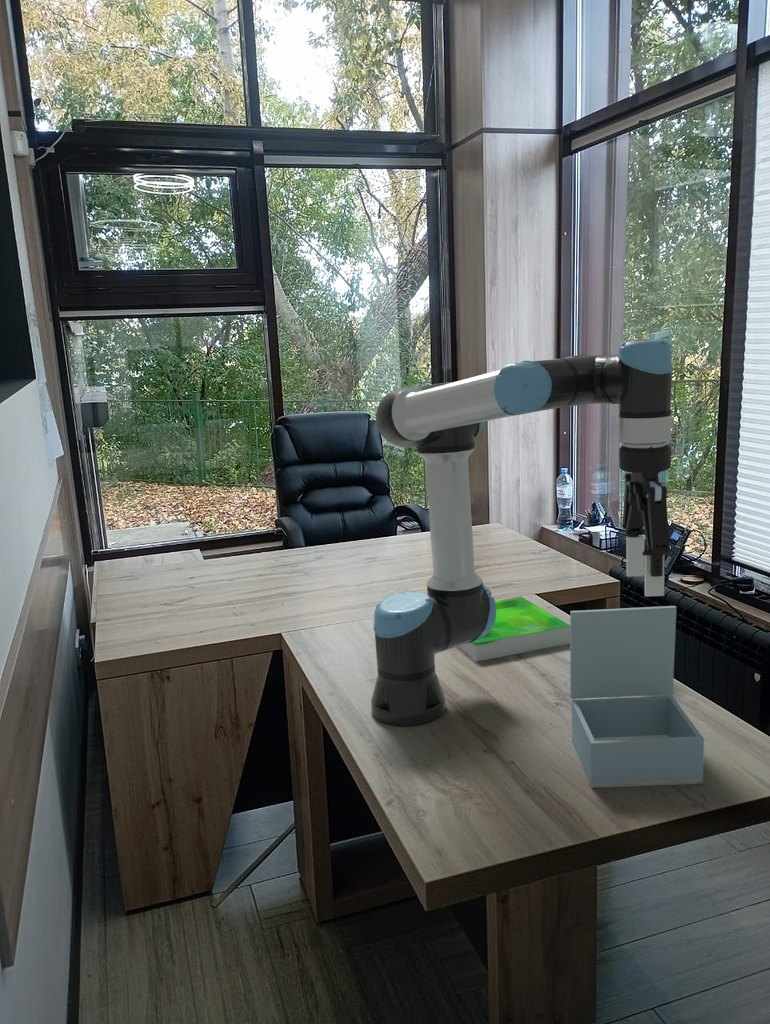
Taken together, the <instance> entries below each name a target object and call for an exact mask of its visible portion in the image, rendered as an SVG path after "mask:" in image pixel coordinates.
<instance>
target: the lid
mask: <svg viewBox="0 0 770 1024" xmlns="http://www.w3.org/2000/svg"><path fill="white" fill-rule="evenodd" d="M569 619H570V622H569V623H570V624H569V625H570V648H569V649H570V657H569V658H570V661H569V663H570V664H569V665H570V667H569V669H570V670H569V673H570V674H569V675H570V676H569V677H570V678H569V679H570V680H569V681H570V682H569V683H570V684H569V687H570V689H569V691H570V692H569V694H570V695H569V697H570V699H571V700H579V699H600V698H622V697H644V696H666V695H673V692H674V671H675V652H676V650H675V649H676V646H675V645H676V628H677V626H676V625H677V606H676V605H667V606H665V605H663V606H645V607H628V608H627V607H626V608H624V607H623V608H607V609H606V608H603V609H586V610H585V609H584V610H570V618H569Z"/></svg>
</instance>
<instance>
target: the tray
mask: <svg viewBox="0 0 770 1024" xmlns="http://www.w3.org/2000/svg"><path fill="white" fill-rule="evenodd" d="M495 603H496V619H495V623H494V625H493V627H492V629H491V631H490V632H489V633H488V634H487V635H485V636H484V637H481V638H479V639H477V640H476V641H474V642H471V643H466V644H463V645H460V646H457V648H459V649H460V650H462V652H463V653H465V654H466V655H467V656H468V657H469V656H470V657H469V658H471V659H472V660H473V661H474V662H475V661H476V662H481V661H486V660H487V661H488V660H491V659H498V658H503V657H508V656H512V655H518V654H522V653H527V652H534V651H537V650H543V649H548V648H553V647H558V646H559V647H560V646H564V645H569V644H570V624H569V623H567V622H565V621H564V620H562V619H560V618H558V617H556V616H555V615H554V614H551V613H550V612H548V611H547V610H546V609H543V608H542V607H539V606H538V605H536V604H535V603H533V602H531V601H529V600H528V599H526V598H524V597H522V596H517V597H511V598H507V599H499V600H495Z"/></svg>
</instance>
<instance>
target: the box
mask: <svg viewBox="0 0 770 1024" xmlns="http://www.w3.org/2000/svg"><path fill="white" fill-rule="evenodd" d="M571 729H572V730H571V738H572V739H571V741H572V744H573V747H574V748H575V751H576V753H577V756H578V758H579V761H580V764H581V766H582V768H583V771H584V773H585V775H586V778H587V780H588V784H589V785H590V788H591V789H603V788H604V789H605V788H606V789H607V788H628V787H629V788H630V787H655V786H657V787H658V786H677V785H699V784H700V785H701V784H702V785H703V784H704V751H705V750H704V747H705V746H704V745H705V744H704V743H705V742H704V741H705V739H704V736H702V734H701V733H700V731H699V730H698V729H697V727H696V726H695V725H694V723H693V722H692V720H691V719H690V718H689V717H688V715H687V714H686V713H685V711H684V710H683V708H682V707H681V705H680V704H679V703H678V701H677V700H676V699H675V698H674V696H673V695H654V696H632V697H610V698H588V699H571Z"/></svg>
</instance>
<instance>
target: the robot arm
mask: <svg viewBox="0 0 770 1024" xmlns="http://www.w3.org/2000/svg"><path fill="white" fill-rule="evenodd" d="M672 359H673V357H672V345H671V344H670V342H669V341H667V340H665V339H651V340H647V339H646V340H632V341H623V342H621V343H620V344H619V346H618V354H614V355H610V354H609V355H604V354H603V355H602V354H601V355H599V354H597V355H596V354H595V355H588V354H579V355H573V356H568V357H567V356H566V357H563V358H554V359H545V360H521V361H517V362H514V363H509V364H508V363H507V365H505V366H503V367H502V368H501V369H499V370H494V371H489V372H486V373H483V374H480V375H475V376H472V377H468V378H464V379H461V380H457V381H452V382H441V383H433V384H425V385H417V386H408V387H407V386H405V387H400V388H397V389H394V390H392V391H390V392H389V393H387V394H386V395H385V396H383V398H382V399H380V402H379V403H378V405H377V407H376V411H375V423H376V427H377V429H378V430H377V431H378V432H379V433H380V435H381V437H383V438H384V440H386V441H387V442H388V443H389V444H391V445H394V446H397V447H401V448H416V452H417V455H419V456H420V457H421V458H422V459H423V460H424V462H425V471H426V472H425V476H426V488H427V503H428V513H429V514H428V517H429V527H430V528H429V529H430V530H429V531H430V542H431V544H430V545H431V558H432V573H433V574H432V575H431V577H430V578H429V579H428V580H427V581H426V591H427V593H426V592H422V591H407V592H403V591H402V592H398V593H395V594H391V595H390V596H387V597H385V598H384V599H382V600H381V601H380V602H378V604H376V606H375V610H374V612H373V613H374V615H373V619H374V620H373V631H374V639H375V653H376V667H377V678H376V681H375V684H374V689H373V692H372V696H371V701H370V704H371V714H372V713H373V714H372V715H374V716H375V717H376V718H377V719H376V718H375V717H374V716H373V717H374V718H375V719H376V720H378V719H379V720H378V721H380V720H381V721H380V722H382V721H383V722H382V723H384V722H385V724H389V725H393V726H402V727H404V726H406V727H407V726H409V727H410V726H418V725H423V724H427V723H429V722H432V721H435V720H437V719H439V718H440V717H441V716H443V714H444V713H445V712H446V709H447V707H446V706H447V705H446V697H445V692H444V691H443V688H442V685H441V682H440V681H439V678H438V675H437V673H436V663H435V661H436V660H435V655H436V654H438V653H443V652H444V651H447V650H451V649H454V648H456V647H457V648H458V646H460V645H463V644H466V643H471V642H474V641H476V640H477V639H479V638H481V637H484V636H485V635H487V634H488V633H489V632H490V631H491V629H492V627H493V625H494V623H495V619H496V603H495V601H496V600H495V597H494V596H492V591H491V590H490V588H489V587H488V586H487V585H486V584H484V583H483V582H484V581H483V578H482V577H481V576H480V575H479V574H478V573H476V571H475V569H476V568H475V556H474V555H475V554H474V540H473V539H474V536H473V535H474V534H473V521H472V520H473V519H472V518H473V517H472V509H471V508H472V506H471V505H472V503H471V489H470V488H471V487H470V473H469V469H470V468H469V457H470V456H471V455H472V453H473V452H474V451H475V450H476V448H475V447H476V446H475V439H476V438H477V437H479V436H480V435H481V434H482V432H483V429H484V428H485V426H486V425H485V424H486V422H488V421H493V420H498V419H503V418H509V417H514V416H520V415H526V414H531V413H535V412H541V411H547V410H554V409H561V408H569V407H575V406H577V407H578V406H582V405H591V404H603V405H605V404H607V405H608V404H613V405H618V412H619V413H618V414H619V415H618V442H620V443H621V444H622V445H621V446H620V447H619V449H618V451H619V453H618V465H619V466H618V467H619V469H620V470H621V471H623V472H625V474H624V487H625V488H624V498H623V500H624V502H623V511H622V512H623V513H622V525H621V528H622V529H623V530H624V534H625V536H626V537H625V538H626V539H625V542H626V544H625V547H626V550H625V551H626V562H625V564H626V567H625V568H626V569H625V570H626V572H625V573H626V574H625V576H626V577H629V578H631V577H644V596H645V597H647V598H648V597H663V596H665V556H666V554H670V553H671V546H670V533H669V520H668V519H669V517H668V506H667V500H668V499H667V498H668V497H667V495H668V493H667V492H668V488H667V486H666V485H662V483H661V482H660V477H659V474H660V473H662V472H666V471H668V470H670V469H671V466H672V446H670V444H668V443H669V442H670V441H671V440H672V429H671V428H673V427H674V426H675V421H674V420H672V409H671V407H672V406H671V405H672V384H673V383H672V382H673V371H674V368H673V363H672V361H673V360H672ZM645 545H646V550H645Z"/></svg>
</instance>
